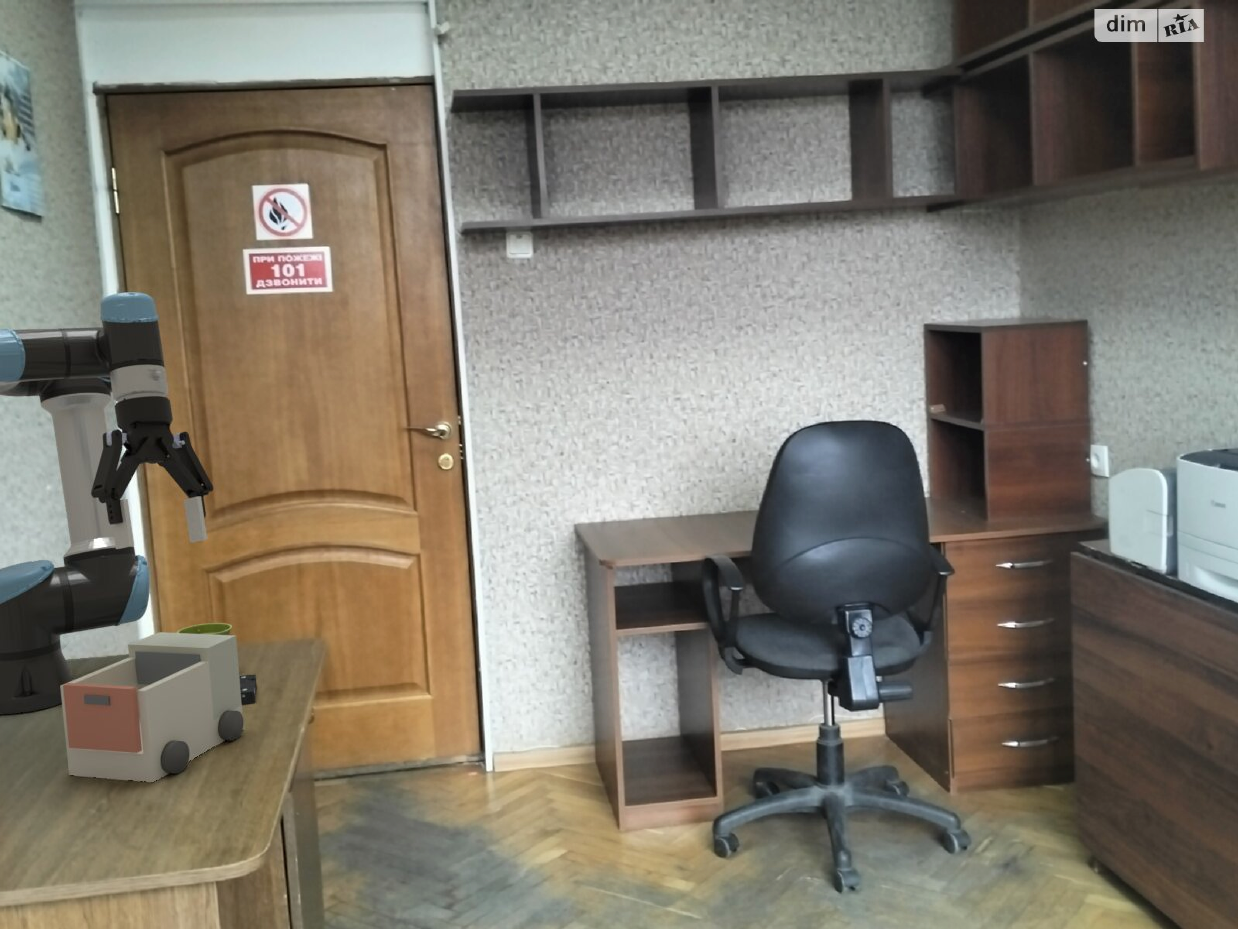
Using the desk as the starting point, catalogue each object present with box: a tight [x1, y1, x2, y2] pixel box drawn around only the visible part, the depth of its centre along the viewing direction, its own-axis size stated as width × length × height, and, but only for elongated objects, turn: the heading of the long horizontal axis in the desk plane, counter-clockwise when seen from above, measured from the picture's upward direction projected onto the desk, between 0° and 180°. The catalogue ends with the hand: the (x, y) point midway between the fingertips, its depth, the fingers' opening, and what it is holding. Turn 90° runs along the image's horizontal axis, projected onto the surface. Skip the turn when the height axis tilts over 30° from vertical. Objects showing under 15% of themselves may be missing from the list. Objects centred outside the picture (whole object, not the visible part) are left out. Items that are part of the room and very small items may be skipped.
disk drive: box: [239, 673, 258, 706], centre depth 193 cm, size 10×3×15 cm
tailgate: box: [63, 683, 142, 753], centre depth 157 cm, size 11×1×9 cm, turn 74°
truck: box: [60, 631, 244, 783], centre depth 168 cm, size 17×21×15 cm
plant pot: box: [176, 622, 233, 635], centre depth 207 cm, size 9×9×9 cm
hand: (163, 544), depth 164 cm, fingers open, 13 cm apart
